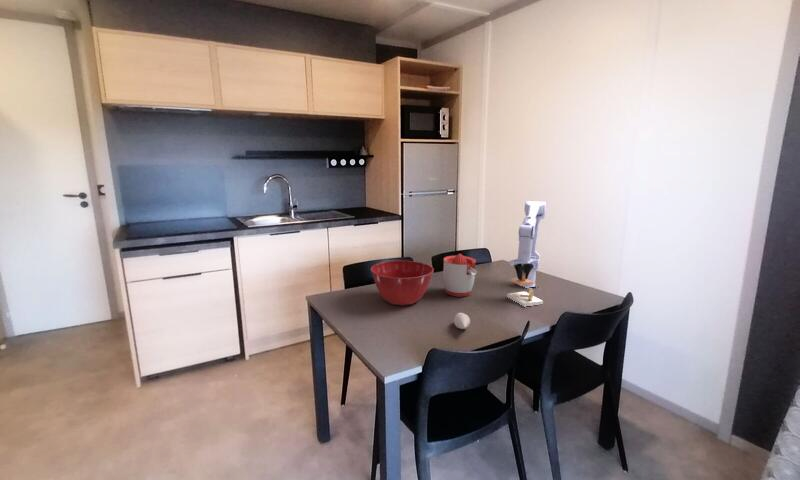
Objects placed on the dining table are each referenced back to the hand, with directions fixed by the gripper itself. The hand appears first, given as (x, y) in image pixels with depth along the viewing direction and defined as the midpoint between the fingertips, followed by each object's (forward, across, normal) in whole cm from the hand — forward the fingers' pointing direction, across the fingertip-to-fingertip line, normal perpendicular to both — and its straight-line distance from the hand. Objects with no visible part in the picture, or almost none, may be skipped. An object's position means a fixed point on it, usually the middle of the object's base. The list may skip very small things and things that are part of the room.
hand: (522, 279), depth 181 cm
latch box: (+10, 0, -3) cm, 10 cm away
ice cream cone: (+10, -42, -21) cm, 48 cm away
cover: (+2, 0, 0) cm, 2 cm away
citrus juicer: (+10, -24, +15) cm, 30 cm away
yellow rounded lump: (+8, -2, -6) cm, 10 cm away
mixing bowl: (+10, -54, +15) cm, 57 cm away
